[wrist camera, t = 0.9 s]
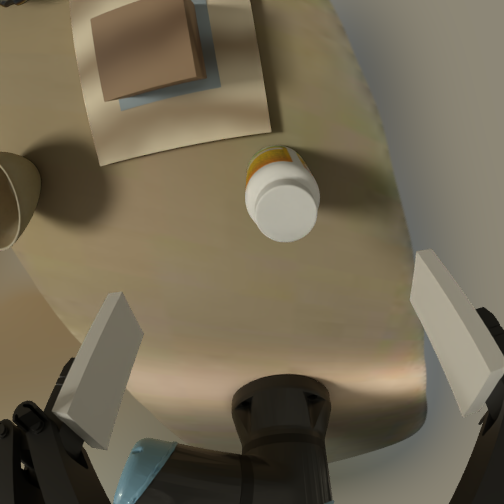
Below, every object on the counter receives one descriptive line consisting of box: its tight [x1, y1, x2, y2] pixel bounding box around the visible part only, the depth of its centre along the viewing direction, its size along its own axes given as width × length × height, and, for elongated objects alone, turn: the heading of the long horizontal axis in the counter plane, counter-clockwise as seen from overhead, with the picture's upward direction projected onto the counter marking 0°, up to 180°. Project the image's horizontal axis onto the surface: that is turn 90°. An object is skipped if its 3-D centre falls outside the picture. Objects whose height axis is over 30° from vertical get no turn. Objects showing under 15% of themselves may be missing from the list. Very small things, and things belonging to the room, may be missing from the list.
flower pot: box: [0, 152, 41, 251], centre depth 25 cm, size 10×10×7 cm
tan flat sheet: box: [69, 0, 271, 166], centre depth 22 cm, size 18×16×1 cm
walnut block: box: [90, 0, 207, 102], centre depth 20 cm, size 7×7×5 cm
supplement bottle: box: [245, 145, 320, 242], centre depth 24 cm, size 5×5×10 cm
